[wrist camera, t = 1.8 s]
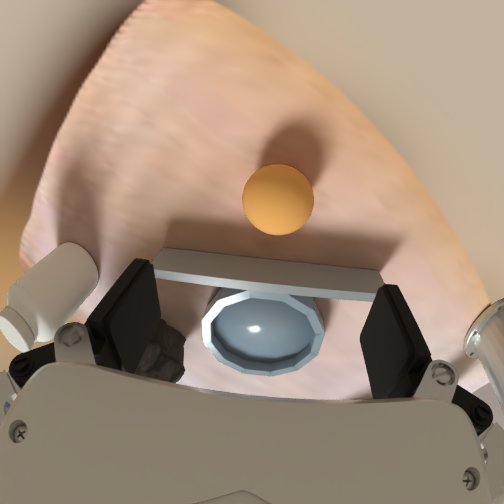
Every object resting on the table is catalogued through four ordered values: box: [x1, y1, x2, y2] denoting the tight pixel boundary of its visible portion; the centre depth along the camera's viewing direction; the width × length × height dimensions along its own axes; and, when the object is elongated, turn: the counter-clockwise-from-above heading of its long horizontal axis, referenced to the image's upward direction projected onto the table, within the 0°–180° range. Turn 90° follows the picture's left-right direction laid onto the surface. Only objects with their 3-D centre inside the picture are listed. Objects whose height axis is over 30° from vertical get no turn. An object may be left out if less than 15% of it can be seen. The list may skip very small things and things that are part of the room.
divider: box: [150, 247, 385, 302], centre depth 28 cm, size 24×1×4 cm, turn 86°
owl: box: [134, 319, 186, 384], centre depth 29 cm, size 13×13×20 cm
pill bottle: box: [0, 242, 98, 352], centre depth 27 cm, size 8×8×15 cm
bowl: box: [202, 287, 325, 376], centre depth 33 cm, size 14×14×2 cm
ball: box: [242, 164, 314, 235], centre depth 23 cm, size 6×6×6 cm
